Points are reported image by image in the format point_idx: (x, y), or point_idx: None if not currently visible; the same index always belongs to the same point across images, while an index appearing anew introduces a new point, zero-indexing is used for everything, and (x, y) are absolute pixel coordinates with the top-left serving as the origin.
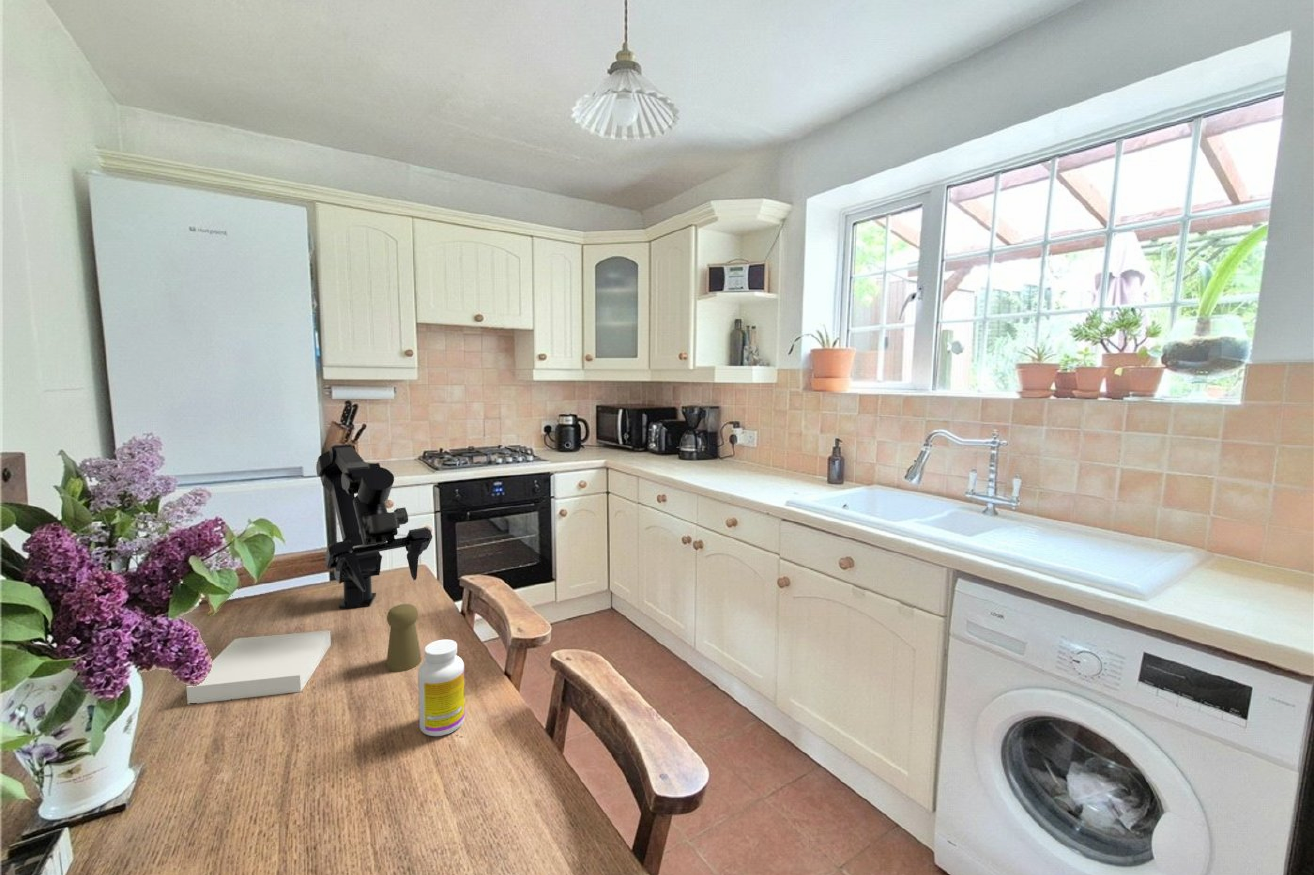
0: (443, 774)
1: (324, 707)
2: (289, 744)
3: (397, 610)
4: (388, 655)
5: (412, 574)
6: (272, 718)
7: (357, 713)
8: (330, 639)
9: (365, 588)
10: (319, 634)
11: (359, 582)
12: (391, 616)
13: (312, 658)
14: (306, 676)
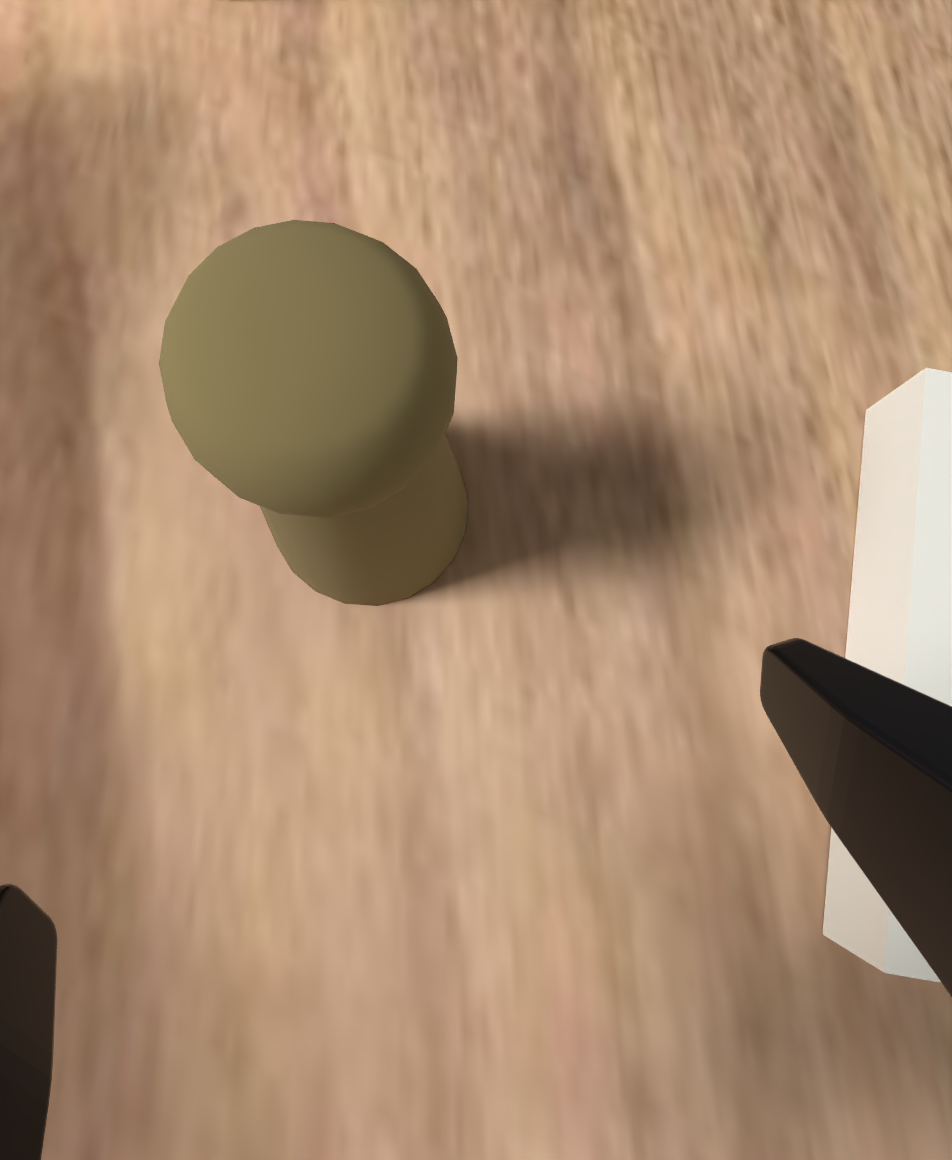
0: None
1: (726, 231)
2: (810, 31)
3: (348, 269)
4: (452, 452)
5: (14, 1017)
6: (929, 233)
7: (577, 130)
8: (844, 940)
9: (774, 646)
10: None
11: (924, 700)
12: (412, 268)
13: (904, 575)
14: (879, 479)
